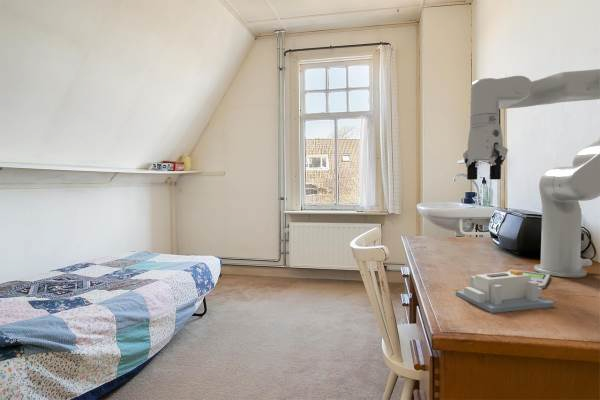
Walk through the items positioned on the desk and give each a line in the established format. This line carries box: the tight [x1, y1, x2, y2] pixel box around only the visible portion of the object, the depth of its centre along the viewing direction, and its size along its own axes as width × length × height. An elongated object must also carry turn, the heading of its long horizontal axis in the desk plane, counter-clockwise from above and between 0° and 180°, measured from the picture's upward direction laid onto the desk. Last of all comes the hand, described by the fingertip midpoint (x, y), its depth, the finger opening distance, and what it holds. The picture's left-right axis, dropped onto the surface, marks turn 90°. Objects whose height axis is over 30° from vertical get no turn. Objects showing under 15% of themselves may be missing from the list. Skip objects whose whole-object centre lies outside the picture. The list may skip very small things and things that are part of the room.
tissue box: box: [474, 269, 531, 302], centre depth 82 cm, size 12×4×6 cm, turn 106°
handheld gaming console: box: [507, 268, 551, 289], centre depth 98 cm, size 10×2×15 cm
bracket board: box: [455, 275, 555, 314], centre depth 82 cm, size 16×12×5 cm
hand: (483, 179), depth 105 cm, fingers open, 9 cm apart
